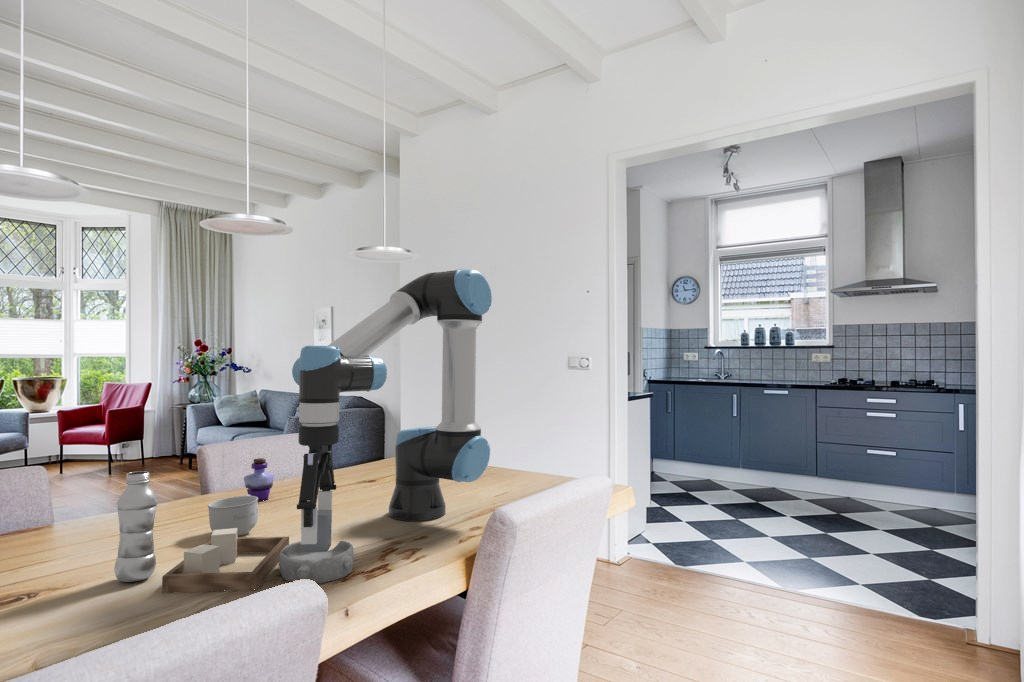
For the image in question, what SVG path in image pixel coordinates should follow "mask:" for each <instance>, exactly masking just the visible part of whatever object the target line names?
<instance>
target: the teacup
mask: <svg viewBox="0 0 1024 682" xmlns="http://www.w3.org/2000/svg"><path fill="white" fill-rule="evenodd" d="M258 503H259V502H258V497H256V496H251V495H248V494H244V495H238V496H230V497H228V496H227V497H225V498H224V497H223V498H220V499H216V500H213V501H211V502H209V503H208V504H207V508H208V521H209V526H210V529H211V531H212V532H213V531H214V530H219V529H231V528H237V537H239V536H240V537H241V536H244V535H246V534H248V533H250V532H251V531H252V529H253V528H254V527H255V526H256V525H257V523H258V521H259V504H258Z"/></svg>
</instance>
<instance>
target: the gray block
mask: <svg viewBox="0 0 1024 682" xmlns="http://www.w3.org/2000/svg"><path fill="white" fill-rule="evenodd" d="M332 522H333V509H332V510H318V511H317V543H316V544H303V552H327V551H329V550H330V548H331V546H332V529H333V528H332V524H333V523H332Z"/></svg>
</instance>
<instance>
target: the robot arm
mask: <svg viewBox="0 0 1024 682" xmlns="http://www.w3.org/2000/svg"><path fill="white" fill-rule="evenodd" d="M492 297H493V296H492V290H491V287H490V284H489V282H488V280H487V279H486V277H485V276H484V275H483V273H481V272H480V271H478V270H476V269H463V268H462V269H461V268H459V269H455V270H446V271H439V272H438V271H437V272H429V273H425V274H423V275H420V276H418V277H417V278H415V279H413V280H411V281H410V282H408V283H407V284H405V285H403V286H402V287H400V288H399V289H397V290H396V291H395V292H393V293H392V294H391V295H390V297H389V300H388V301H387V302H386V303H385V304H384V305H382V306H380V307H379V308H378V309H376V310H375V311H373V313H372V312H371V314H370V315H368V316H367V317H365V318H364V319H362V320H361V321H360V322H358V323H357V324H356V325H354V326H353V327H352V328H350V329H349V330H347V331H346V332H345V333H343V334H342V335H340V336H339V337H337V338H336V339H334V340H333V341H332V342H331V343H329V344H327V345H305V346H303V347H302V348H301V350H300V354H299V357H298V358H297V359H296V360H295V362H294V363H293V366H292V369H291V375H292V379H293V381H294V382H295V383H296V385H298V386H299V387H298V388H299V389H298V390H299V391H298V393H299V394H298V396H299V405H298V406H297V407H296V408H295V410H296V412H299V414H298V422H299V423H300V426H299V427H298V444H299V445H300V446H303V447H305V446H307V447H308V448H309V449H308V453H304V454H303V464H302V465H303V467H302V474H301V483H300V490H299V498H298V504H296V510H301V515H300V517H301V519H300V521H301V524H300V529H301V530H300V541H301V544H316V543H317V511H318V510H332V511H333V491H335V490H337V484H335V483H336V481H335V473H334V464H333V463H334V462H333V450H332V449H333V445H336V444H338V442H339V441H340V439H339V438H340V437H339V435H340V433H339V432H340V431H339V430H340V427H339V425H338V424H337V423H338V422H339V421H340V393H346V392H347V393H349V392H351V393H352V392H355V393H356V392H371V391H377V390H379V389H381V388H382V387H383V386H384V384H385V383H386V381H387V378H388V377H387V375H388V373H387V371H388V369H387V365H386V363H385V361H384V359H382V358H380V357H379V356H377V355H376V356H374V355H371V354H372V353H373V352H374V351H376V350H377V349H378V348H379V347H381V346H382V345H383V344H384V343H386V342H387V341H388V340H390V339H391V338H392V337H393V336H395V335H396V334H397V333H398V332H400V331H402V329H403V328H405V327H406V326H407V325H414V324H416V323H418V322H419V321H420V320H422V319H426V318H430V317H436V322H437V324H438V325H439V326H440V327H441V328H442V367H441V368H442V369H441V370H442V373H441V375H442V377H441V380H442V381H441V387H442V389H441V422H440V423H439V424H438V425H437V426H436V425H435V426H423V427H415V428H414V427H413V428H406V429H401V430H399V431H398V432H397V433H396V440H395V441H396V442H395V445H394V446H395V487H394V489H393V492H392V495H391V499H390V501H389V504H388V516H389V517H390V518H392V519H394V520H400V521H409V522H410V521H411V522H412V521H413V522H416V521H417V522H418V521H429V520H434V519H437V518H441V517H443V516H444V515H446V501H445V499H444V495H443V491H442V489H441V485H440V479H441V480H442V479H443V480H449V481H454V482H457V483H462V482H464V483H472V482H475V481H477V480H478V479H479V478H481V477H482V475H483V474H484V472H485V471H486V470H487V467H488V465H489V461H490V457H491V448H490V447H491V446H490V444H489V443H488V442H489V441H488V440H487V438H485V437H484V436H482V428H481V426H480V425H479V424H478V423H477V422H476V383H477V382H476V372H477V371H476V370H477V360H476V359H477V329H478V328H479V326H480V325H481V324H482V323H483V315H485V314H486V313H488V312H489V310H490V308H491V306H492V300H493V298H492Z"/></svg>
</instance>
